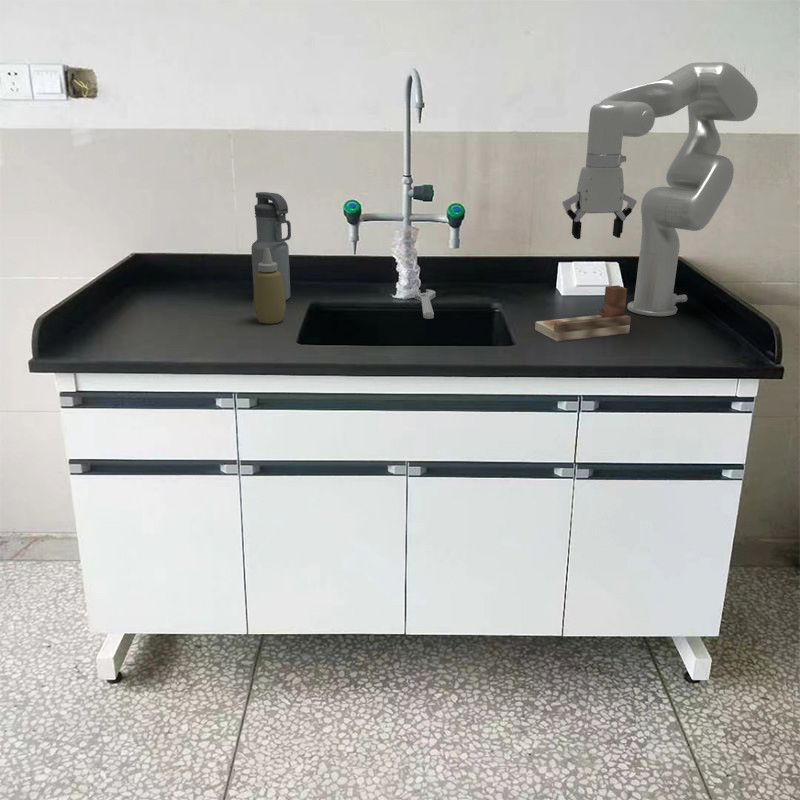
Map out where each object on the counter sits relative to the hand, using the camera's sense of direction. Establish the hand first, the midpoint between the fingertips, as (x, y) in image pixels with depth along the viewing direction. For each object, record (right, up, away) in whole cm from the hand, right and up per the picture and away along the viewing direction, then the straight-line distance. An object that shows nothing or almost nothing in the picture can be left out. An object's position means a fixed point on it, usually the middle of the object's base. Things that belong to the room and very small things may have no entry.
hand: (596, 237), depth 191 cm
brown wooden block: (+5, -18, +8) cm, 21 cm away
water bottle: (-81, -11, +31) cm, 87 cm away
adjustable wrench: (-40, -13, +27) cm, 50 cm away
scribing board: (-2, -22, +6) cm, 22 cm away
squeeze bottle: (-78, -19, +11) cm, 81 cm away
